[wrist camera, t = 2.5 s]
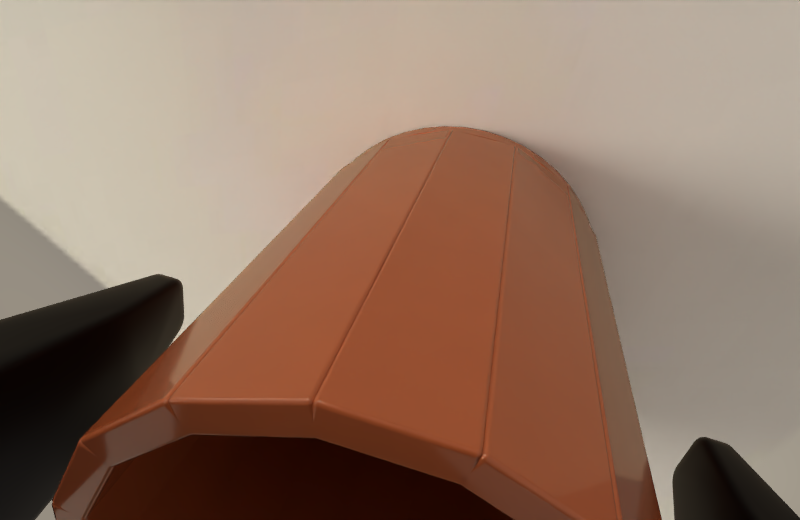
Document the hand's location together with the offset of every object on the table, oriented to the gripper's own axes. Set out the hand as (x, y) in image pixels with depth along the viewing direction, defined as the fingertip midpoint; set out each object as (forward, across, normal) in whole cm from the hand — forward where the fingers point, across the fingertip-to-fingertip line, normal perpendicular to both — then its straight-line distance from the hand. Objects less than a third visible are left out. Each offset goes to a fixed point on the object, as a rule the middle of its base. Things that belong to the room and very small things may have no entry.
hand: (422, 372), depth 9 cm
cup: (+4, 0, 0) cm, 4 cm away
